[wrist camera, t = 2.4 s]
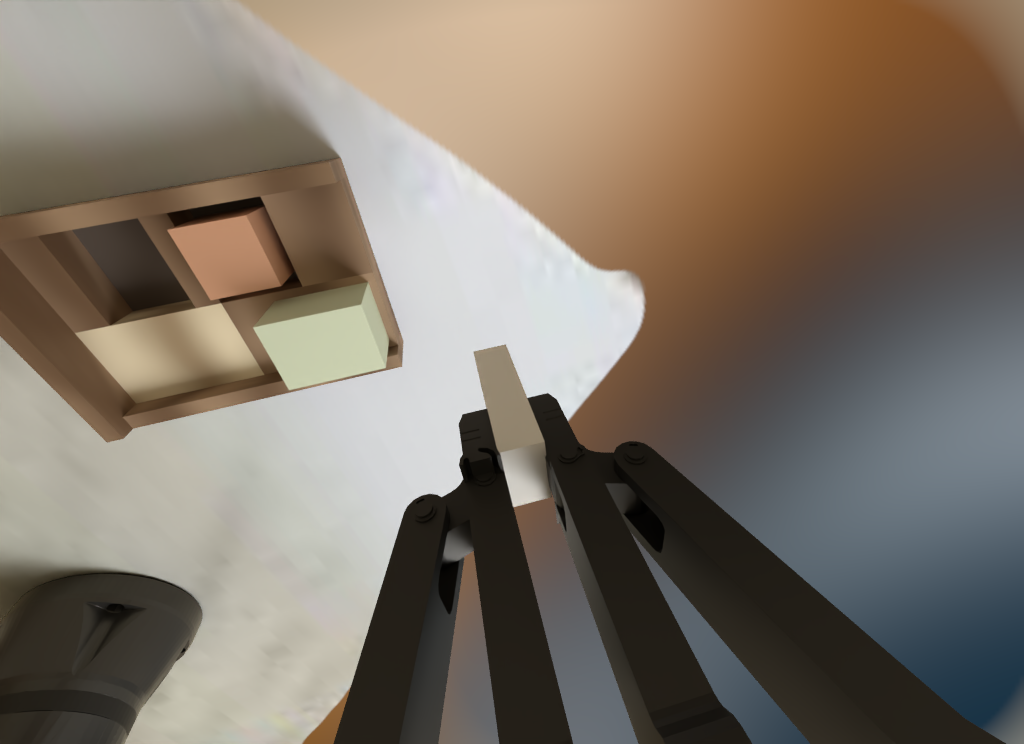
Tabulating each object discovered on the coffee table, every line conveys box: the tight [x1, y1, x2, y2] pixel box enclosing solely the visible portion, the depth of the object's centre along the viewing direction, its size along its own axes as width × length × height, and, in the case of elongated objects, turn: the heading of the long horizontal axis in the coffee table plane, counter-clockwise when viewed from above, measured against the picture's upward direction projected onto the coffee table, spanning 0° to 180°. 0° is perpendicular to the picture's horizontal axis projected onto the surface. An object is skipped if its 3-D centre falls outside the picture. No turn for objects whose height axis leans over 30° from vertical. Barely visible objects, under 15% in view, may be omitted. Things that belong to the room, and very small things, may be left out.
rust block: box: [167, 205, 295, 300], centre depth 23 cm, size 4×4×4 cm
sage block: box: [253, 282, 389, 390], centre depth 24 cm, size 6×4×4 cm
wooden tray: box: [0, 158, 403, 442], centre depth 24 cm, size 19×13×5 cm
